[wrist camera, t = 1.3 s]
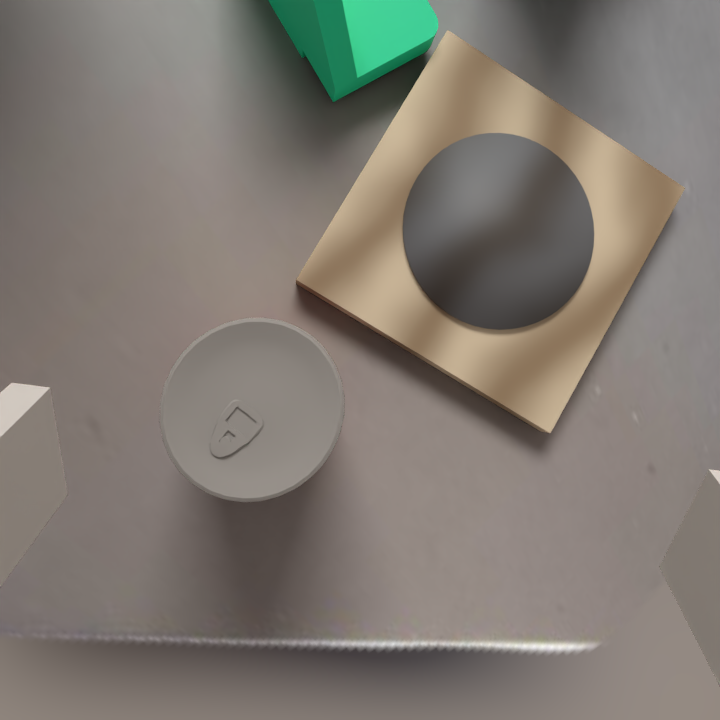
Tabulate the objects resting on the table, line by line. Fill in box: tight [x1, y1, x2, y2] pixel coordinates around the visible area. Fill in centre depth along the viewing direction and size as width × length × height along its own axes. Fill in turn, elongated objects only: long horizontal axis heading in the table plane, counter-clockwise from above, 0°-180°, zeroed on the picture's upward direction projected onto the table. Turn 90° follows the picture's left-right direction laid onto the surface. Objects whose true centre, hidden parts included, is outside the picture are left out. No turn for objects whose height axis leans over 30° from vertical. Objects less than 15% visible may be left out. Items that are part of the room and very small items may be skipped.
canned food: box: [159, 318, 344, 502], centre depth 30 cm, size 8×8×11 cm
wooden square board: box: [296, 30, 685, 433], centre depth 36 cm, size 18×18×2 cm
